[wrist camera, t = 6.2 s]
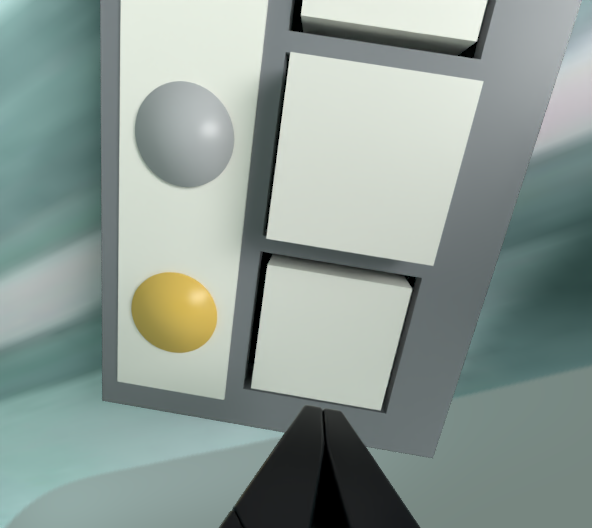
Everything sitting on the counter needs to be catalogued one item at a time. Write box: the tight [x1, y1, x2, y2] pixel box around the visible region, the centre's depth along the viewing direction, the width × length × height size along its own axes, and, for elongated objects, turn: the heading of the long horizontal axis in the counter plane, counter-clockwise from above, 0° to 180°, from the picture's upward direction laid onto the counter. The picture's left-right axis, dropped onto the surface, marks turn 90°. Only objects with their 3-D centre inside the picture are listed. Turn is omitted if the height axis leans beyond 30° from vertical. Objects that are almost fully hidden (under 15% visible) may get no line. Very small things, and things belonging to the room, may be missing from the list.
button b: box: [266, 52, 484, 266], centre depth 10 cm, size 4×4×2 cm
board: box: [100, 0, 582, 458], centre depth 12 cm, size 12×19×3 cm, turn 172°
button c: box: [251, 253, 412, 411], centre depth 13 cm, size 4×4×2 cm
